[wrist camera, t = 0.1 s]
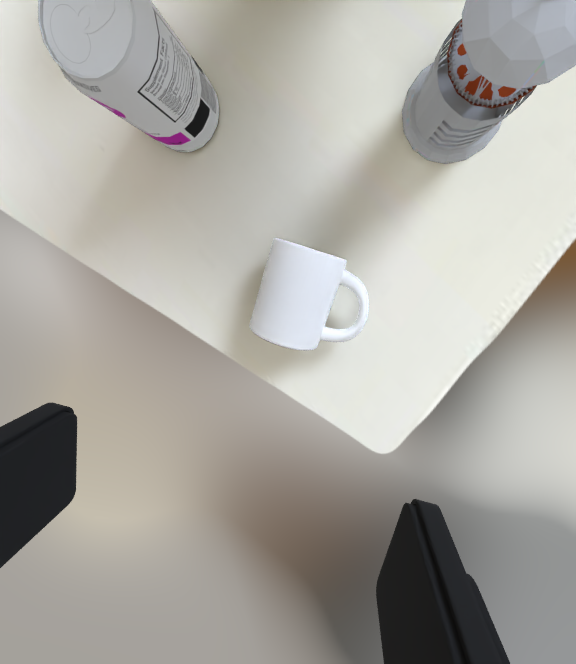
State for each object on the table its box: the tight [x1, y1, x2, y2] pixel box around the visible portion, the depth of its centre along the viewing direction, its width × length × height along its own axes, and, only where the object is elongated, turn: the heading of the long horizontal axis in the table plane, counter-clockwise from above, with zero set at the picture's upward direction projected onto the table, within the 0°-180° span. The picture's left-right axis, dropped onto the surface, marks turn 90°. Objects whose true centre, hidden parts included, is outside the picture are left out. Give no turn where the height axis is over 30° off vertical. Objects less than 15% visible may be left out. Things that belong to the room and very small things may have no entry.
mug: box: [249, 238, 369, 350], centre depth 34 cm, size 12×10×8 cm
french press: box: [402, 0, 576, 164], centre depth 20 cm, size 10×12×25 cm
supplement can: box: [38, 0, 219, 152], centre depth 28 cm, size 8×8×15 cm
